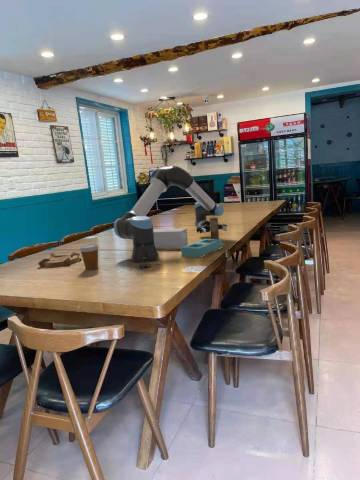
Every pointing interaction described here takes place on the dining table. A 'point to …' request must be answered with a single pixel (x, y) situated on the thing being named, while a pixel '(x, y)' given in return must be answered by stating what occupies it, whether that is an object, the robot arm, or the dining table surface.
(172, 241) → the stack of papers
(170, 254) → the dining table surface
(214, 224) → the walnut pin
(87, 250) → the disposable coffee cup
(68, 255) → the brown flat irregular piece
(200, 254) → the bore block
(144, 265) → the eiffel tower figurine
